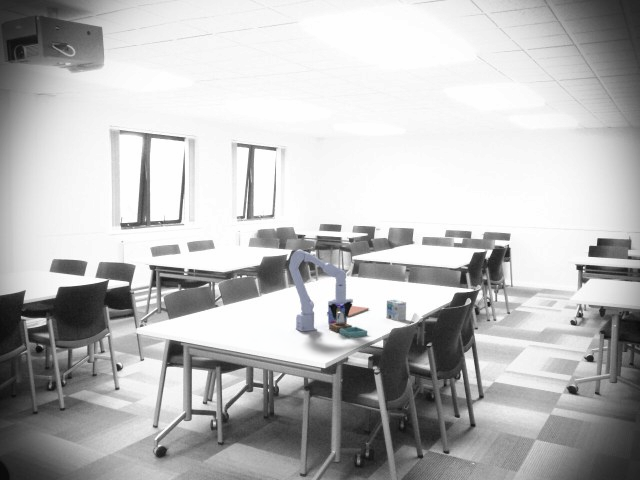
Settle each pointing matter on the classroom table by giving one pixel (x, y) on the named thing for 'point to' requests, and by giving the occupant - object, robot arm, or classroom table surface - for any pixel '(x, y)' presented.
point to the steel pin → (340, 318)
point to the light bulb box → (396, 310)
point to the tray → (353, 332)
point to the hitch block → (338, 327)
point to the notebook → (356, 310)
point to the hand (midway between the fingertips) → (340, 316)
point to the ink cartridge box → (330, 316)
